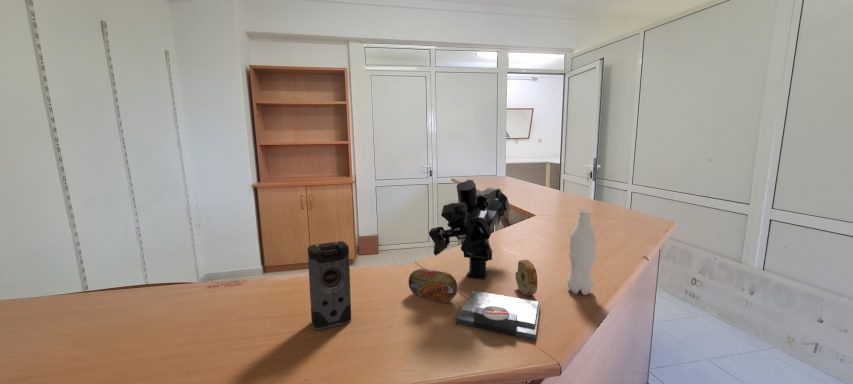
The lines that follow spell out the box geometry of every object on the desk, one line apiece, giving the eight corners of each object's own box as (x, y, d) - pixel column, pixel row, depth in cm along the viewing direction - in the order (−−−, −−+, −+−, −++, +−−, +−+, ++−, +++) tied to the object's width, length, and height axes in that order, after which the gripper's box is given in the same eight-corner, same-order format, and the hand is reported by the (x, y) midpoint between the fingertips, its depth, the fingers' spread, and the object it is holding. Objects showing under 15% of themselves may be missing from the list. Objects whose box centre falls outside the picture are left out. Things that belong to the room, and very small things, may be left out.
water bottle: (566, 294, 99) (572, 212, 95) (566, 285, 105) (571, 208, 102) (593, 298, 96) (600, 214, 93) (591, 288, 103) (597, 210, 99)
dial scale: (472, 296, 97) (472, 282, 97) (539, 308, 90) (540, 293, 89) (453, 327, 81) (454, 310, 80) (534, 345, 74) (535, 326, 73)
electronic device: (314, 332, 79) (310, 252, 76) (310, 320, 84) (306, 245, 81) (352, 322, 83) (350, 246, 80) (347, 312, 88) (344, 240, 86)
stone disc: (539, 300, 95) (541, 267, 94) (526, 301, 95) (528, 267, 93) (525, 285, 105) (526, 255, 104) (514, 285, 105) (515, 255, 104)
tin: (408, 294, 99) (407, 268, 98) (413, 290, 102) (413, 264, 100) (454, 306, 92) (454, 277, 91) (458, 301, 95) (459, 273, 93)
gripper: (430, 204, 104) (407, 234, 93) (481, 189, 93) (462, 222, 81) (447, 231, 108) (427, 264, 96) (498, 220, 96) (482, 256, 85)
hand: (447, 252), depth 89 cm, fingers open, 9 cm apart
